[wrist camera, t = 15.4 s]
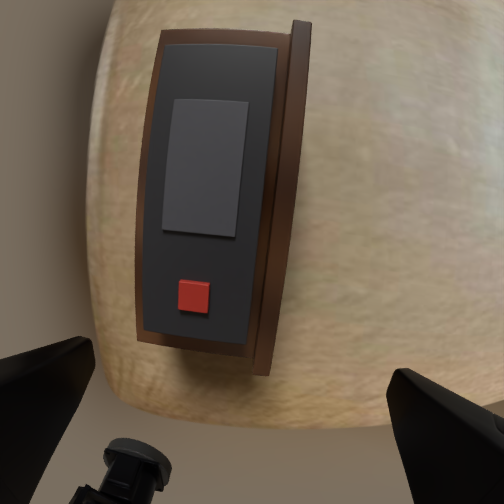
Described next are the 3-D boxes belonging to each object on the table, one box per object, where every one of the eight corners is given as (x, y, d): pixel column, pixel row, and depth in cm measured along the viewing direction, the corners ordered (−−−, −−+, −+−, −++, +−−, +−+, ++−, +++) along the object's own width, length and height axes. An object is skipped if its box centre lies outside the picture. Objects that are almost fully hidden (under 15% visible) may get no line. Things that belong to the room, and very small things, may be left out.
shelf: (266, 309, 21) (269, 376, 14) (168, 297, 21) (126, 355, 14) (293, 77, 18) (312, 21, 10) (189, 70, 18) (151, 16, 10)
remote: (177, 62, 12) (162, 41, 9) (275, 66, 12) (279, 44, 9) (157, 310, 15) (140, 333, 12) (248, 322, 15) (246, 349, 12)
